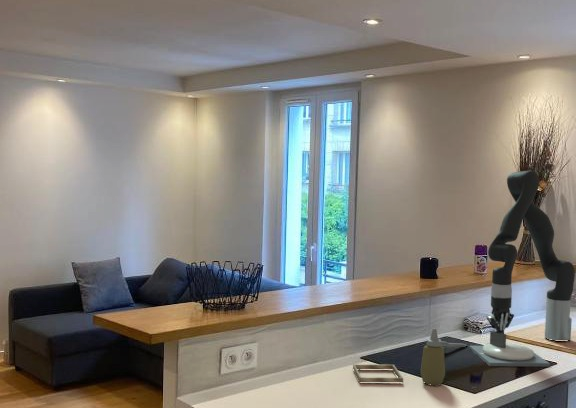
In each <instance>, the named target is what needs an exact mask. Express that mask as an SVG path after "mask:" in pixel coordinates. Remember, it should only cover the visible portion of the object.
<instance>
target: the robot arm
mask: <svg viewBox="0 0 576 408" xmlns="http://www.w3.org/2000/svg"><path fill="white" fill-rule="evenodd" d="M506 184H507V187H508V188H507V189H508V191H509V193H510V195H511V197H512V199H513V200H514V202H515V203H514V204H513V205H512V206H511V207H510V209H509V210H508V211H507V212H506V213H505V215H504V216H503V219H502V221H501V225H500V227H499V231H498V233H497V234H496V235H495V237H494V239H493V240H492V242H491V243H490V245H489V247H488V252H487V256H488V257H489V259H490V260H491V261H493V262H499V263H504V265H503V266H500V267H499V266H498V267H495V268H493V269H492V275H491V282H492V283H491V289H490V291H491V292H490V307H491V308H492V310H491V314H490V316H487V317H486V319H487V321H488V323H489V325H490V326H491V328H492V329H495V331H496V332H499V333H502V334H505V330H506V329H508V328H509V327H510V325H511V323H512V321H513V319H514V317H515V314H514V313H512V312H511V310H510V309H511V308H512V299H513V298H512V297H513V295H512V294H513V290H512V289H513V287H512V277H513V276H512V274H513V269H514V266H515V263H516V261H517V257H518V249H517V247H516V246H515V245H514V244H511V243H512V242H515V241H517V239H518V236H519V233H520V229H521V227H522V224H523V220H524V223H525V225H526V229H527V231H528V233H529V236H530V238H531V240H532V242H533V244H534V247H535V250H536V252H537V254H538V258H539V261H540V265H541V268H542V272H543V275H544V276H545V278H546V279H547V280H550V281H551V282H555V287H554V288H553V289H549V290H547V291H546V306H545V307H546V308H545V322H544V323H545V324H544V339H545V338H548V339H552V340H571V339H572V338H571V336H572V321H573V320H572V317H570V316H571V300H572V295H573V292H574V285H575V277H576V272H575V271H576V270H575V266H574V265H573V263H572V262H570V261H566V260H562V259H558V257H557V255H556V254H555V250H554V248H553V243H554V238H555V231H554V227H553V225H552V222H551V220H550V217H549V216H548V215H547V213H546V212H545V211H543V210H542V209H541V208H540V207H539V206H537V205H536V204H535V203H534V202H533V199H534V197H535V196H536V194H537V192H538V189H539V188H540V187H539V185H540V177H539V175H538V174H537V172H536V171H534V170H523V171H514V172H511V173H509V174H508V176H507V179H506ZM509 243H510V244H509Z"/></svg>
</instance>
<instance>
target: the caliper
mask: <svg viewBox="0 0 576 408" xmlns="http://www.w3.org/2000/svg"><path fill="white" fill-rule="evenodd" d="M439 339H440V340H441V346H442V347H443V348H444V350H448V348H456V349H457V348H458V349H459V348H460V347H465V346H468V345H467V344H466V343H458V342H456V343H455V342H447V341H442V339H441V338H439ZM465 348H466V347H465ZM460 349H461V348H460Z"/></svg>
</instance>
